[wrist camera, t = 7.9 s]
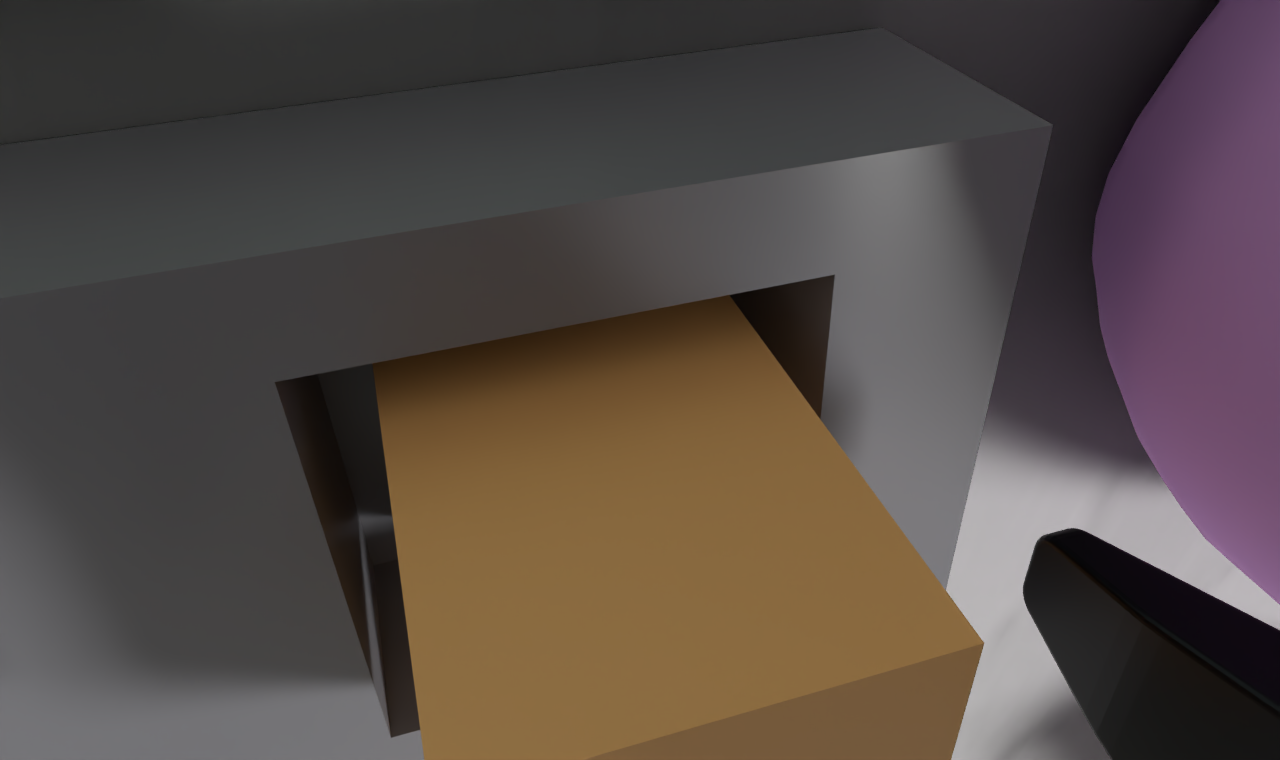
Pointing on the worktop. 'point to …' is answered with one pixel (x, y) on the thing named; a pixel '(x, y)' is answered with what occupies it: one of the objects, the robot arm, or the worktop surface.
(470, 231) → the strip
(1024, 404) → the worktop surface
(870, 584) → the orange block
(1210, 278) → the teapot
